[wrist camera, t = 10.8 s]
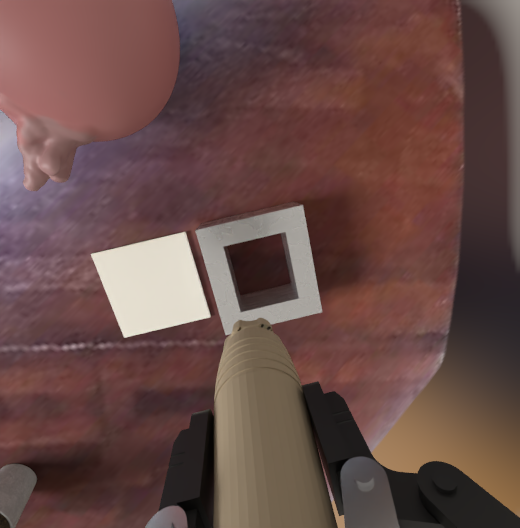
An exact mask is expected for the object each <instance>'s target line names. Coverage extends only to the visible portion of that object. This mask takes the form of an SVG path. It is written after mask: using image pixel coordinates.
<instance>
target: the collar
mask: <svg viewBox="0 0 520 528" xmlns="http://www.w3.org/2000/svg"><path fill="white" fill-rule="evenodd" d="M195 231H196V234H197V238H198V241H199V244H200V248H201V251H202V255H203V258H204V262H205V265H206V269H207V272H208V276H209V279H210V283H211V286H212V289H213V293H214V296H215V300H216V303H217V307H218V310H219V314H220V317H221V321H222V324H223V328H224V331H225V335H229V334H231V333H232V330H233V325H234V323H235V322H237V321H238V320H242V321H253V320H256V319H258V318H264V319H266V320H267V321H269V323H270V324H275V323H279V322H283V321H287V320H291V319H296V318H300V317H304V316H308V315H312V314H316V313H321V312H322V308H321V302H320V297H319V291H318V285H317V280H316V274H315V269H314V263H313V258H312V252H311V247H310V241H309V236H308V230H307V224H306V219H305V213H304V208H303V205H302V204H299V203H296V202H290V203H286V204H281V205H277V206H273V207H269V208H264V209H260V210H256V211H252V212H247V213H243V214H239V215H235V216H230V217H226V218H222V219H218V220H213V221H209V222H205V223H201V224H200V225H199V227H198V228H197V229H196V230H195ZM279 233H281V238H282V243H283V248H284V252H285V257H286V262H287V267H288V272H289V277H290V281H291V283H290V284H286V285H282V286H277V287H273V288H269V289H265V290H261V291H256V292H252V293H248V294H244V295H240V293H239V289H238V285H237V281H236V277H235V274H234V270H233V266H232V262H231V258H230V254H229V251H228V247H227V246H228V245H232V244H236V243H241V242H245V241H249V240H253V239H258V238H262V237H266V236H270V235H274V234H279Z"/></svg>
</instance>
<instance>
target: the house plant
mask: <svg viewBox="0 0 520 528" xmlns="http://www.w3.org/2000/svg"><path fill="white" fill-rule="evenodd" d="M36 481H37V477H36V474H35V473H34V471H33V470H32V469H30V468H29V467H27V466H24V465H21V464H9V465H6V466H4V467H2V468H1V469H0V528H15V526H16V524H17V522H18V520H19V518H20V516H21V514H22V512H23V510H24V507H25V505H26V503H27V501H28V499H29V497H30V495H31V493H32V491H33V489H34V487H35V484H36Z"/></svg>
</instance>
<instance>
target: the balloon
mask: <svg viewBox="0 0 520 528" xmlns="http://www.w3.org/2000/svg"><path fill="white" fill-rule="evenodd" d="M179 60H180V39H179V30H178V23H177V18H176V14H175V10H174V6H173V3H172V0H0V109H1V110H2V111H3V112H4V113H5V114H6V115H7V116H8V117H9V118H10V119H11V120H12V121H13V122H14V123H15V124H16V125H17V145H18V148H19V150H20V152H21V153H22V155H23V163H24V174H25V179H24V181H23V184H24V186H25V187H26V189H28V190H30V191H37V190H39V189H40V188H41V187H42V186H43V185H44V184H45V183H46V182H47V180H48V179H49V178H51V179H52V180H53V181H55V182H60V183H62V182H66V181H67V180H68V178H69V177H70V173H71V169H72V165H73V160H74V155H75V152H76V148H77V147H79V146H81V145H86V144H89V143H91V142H100V141H110V140H116V139H120V138H123V137H126V136H129V135H131V134H133V133H135V132H137V131H139V130H141V129H142V128H144V127H145V126H147V125H148V124H149V123H150V122H152V121H153V120H154V119H155V118H156V117H157V116H158V114H159V113H160V112H161V111H162V109H163V108H164V106H165V105H166V103H167V102H168V100H169V98H170V96H171V93H172V91H173V88H174V85H175V82H176V79H177V74H178V69H179Z"/></svg>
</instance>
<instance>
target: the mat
mask: <svg viewBox="0 0 520 528" xmlns="http://www.w3.org/2000/svg"><path fill="white" fill-rule="evenodd" d="M91 256H92V258H93V261H94V263H95V266H96V268H97V271H98V273H99V276H100V278H101V281H102V283H103V286H104V288H105V291H106V293H107V296H108V298H109V301H110V303H111V306H112V308H113V311H114V313H115V316H116V318H117V321H118V323H119V326H120V328H121V331H122V333H123V336H124V338H125V337H130V336H134V335H138V334H142V333H146V332H150V331H155V330H159V329H163V328H167V327H171V326H176V325H180V324H184V323H188V322H192V321H196V320H201V319H205V318H209V317H211V315H210V312H209V308H208V305H207V302H206V298H205V295H204V292H203V288H202V285H201V282H200V278H199V275H198V272H197V268H196V265H195V262H194V258H193V255H192V251H191V248H190V245H189V241H188V238H187V235H186V232H182V233H177V234H173V235H169V236H165V237H160V238H156V239H152V240H148V241H143V242H139V243H135V244H131V245H126V246H122V247H118V248H114V249H109V250H105V251H101V252H97V253H92V254H91Z"/></svg>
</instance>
